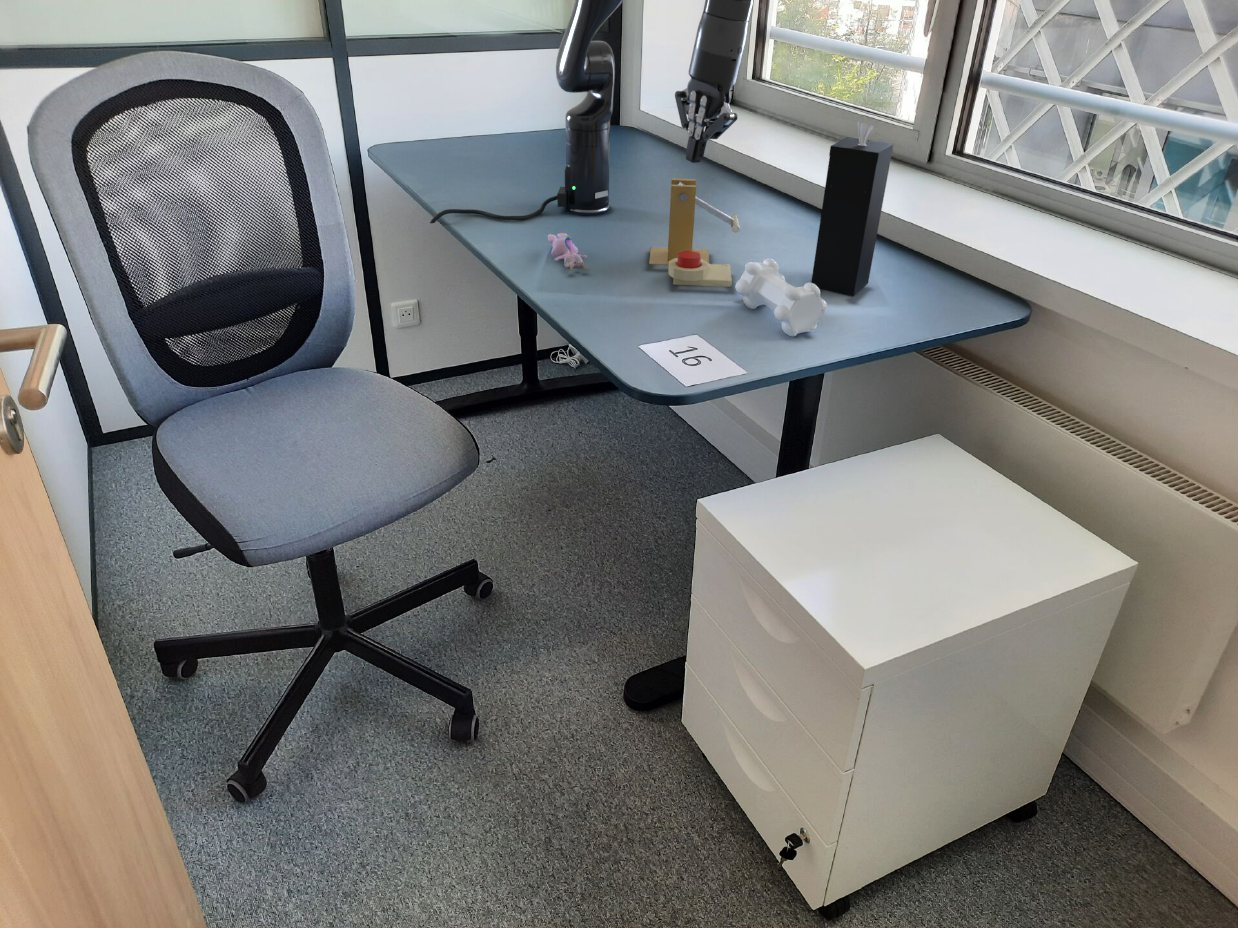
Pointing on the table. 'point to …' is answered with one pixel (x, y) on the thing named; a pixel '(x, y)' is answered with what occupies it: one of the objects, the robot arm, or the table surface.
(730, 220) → the tap lever
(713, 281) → the button box
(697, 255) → the button
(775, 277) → the dog bone
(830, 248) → the tissue box
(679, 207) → the bracket
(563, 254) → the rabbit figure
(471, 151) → the table surface
